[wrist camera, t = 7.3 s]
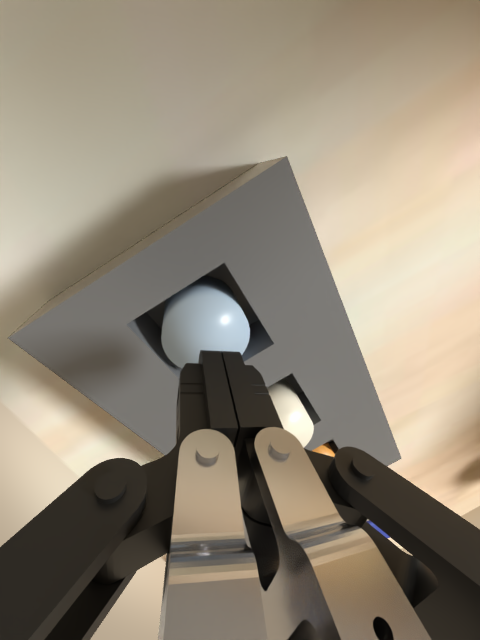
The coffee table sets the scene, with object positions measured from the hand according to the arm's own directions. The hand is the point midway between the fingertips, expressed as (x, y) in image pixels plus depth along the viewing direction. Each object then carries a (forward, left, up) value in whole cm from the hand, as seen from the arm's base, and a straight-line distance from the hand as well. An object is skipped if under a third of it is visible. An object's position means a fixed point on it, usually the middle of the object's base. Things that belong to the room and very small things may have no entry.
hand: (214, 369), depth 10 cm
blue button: (0, 0, -6) cm, 6 cm away
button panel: (+7, +5, -7) cm, 11 cm away
